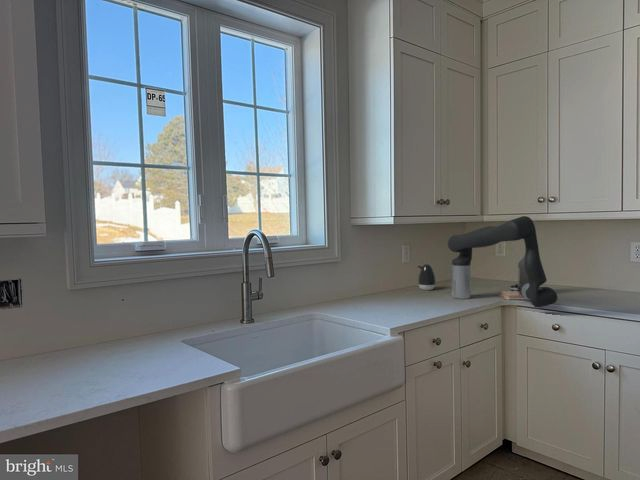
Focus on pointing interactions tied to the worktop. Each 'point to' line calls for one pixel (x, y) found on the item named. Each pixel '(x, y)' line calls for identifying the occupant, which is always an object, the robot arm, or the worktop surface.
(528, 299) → the mat
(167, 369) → the worktop surface
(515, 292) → the tile
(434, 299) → the worktop surface
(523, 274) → the liquor
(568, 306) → the worktop surface
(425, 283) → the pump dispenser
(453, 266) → the robot arm
